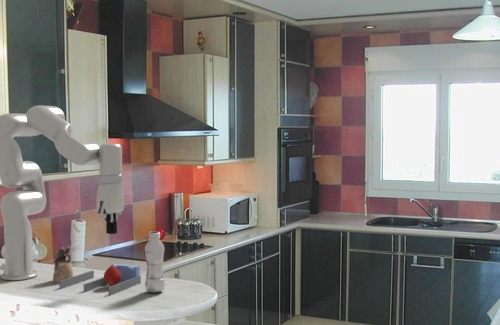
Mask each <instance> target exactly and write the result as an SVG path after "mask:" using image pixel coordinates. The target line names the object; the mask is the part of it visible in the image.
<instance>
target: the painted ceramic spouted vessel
mask: <svg viewBox="0 0 500 325" xmlns="http://www.w3.org/2000/svg"><path fill="white" fill-rule="evenodd" d="M70 250H71V248H70V247H67V248H65V247H63V246H62V247H59V249H58V250H57V251H56V252H55V253H56V254H55V255H54V257H53V258H54V261H53V264H54V268H53V269H54V270H53V275H52V277H53V278H52V279H53V283H55V284H60V281H61V280H65V279H68V278H71V277H74V276H75V274H74V269H73V265H72V262H71V260H72V255H71V253H70Z"/></svg>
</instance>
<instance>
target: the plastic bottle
mask: <svg viewBox="0 0 500 325" xmlns="http://www.w3.org/2000/svg"><path fill="white" fill-rule="evenodd" d="M160 238H161V232H160V231H149V232H148V241H147V243H146V244H145V247H144V252H145V257H146V258H145V260H146V276H145V277H146V279H145V283H144V286H145V290H146V292H147V293H153V294H155V293H160V292H162V291H163V292H164V290H165V287H166V286H165V285H166V281H165V280H166V279H165V277H164V255H165V245H164V243H163V242H162V240H161V239H160Z"/></svg>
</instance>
